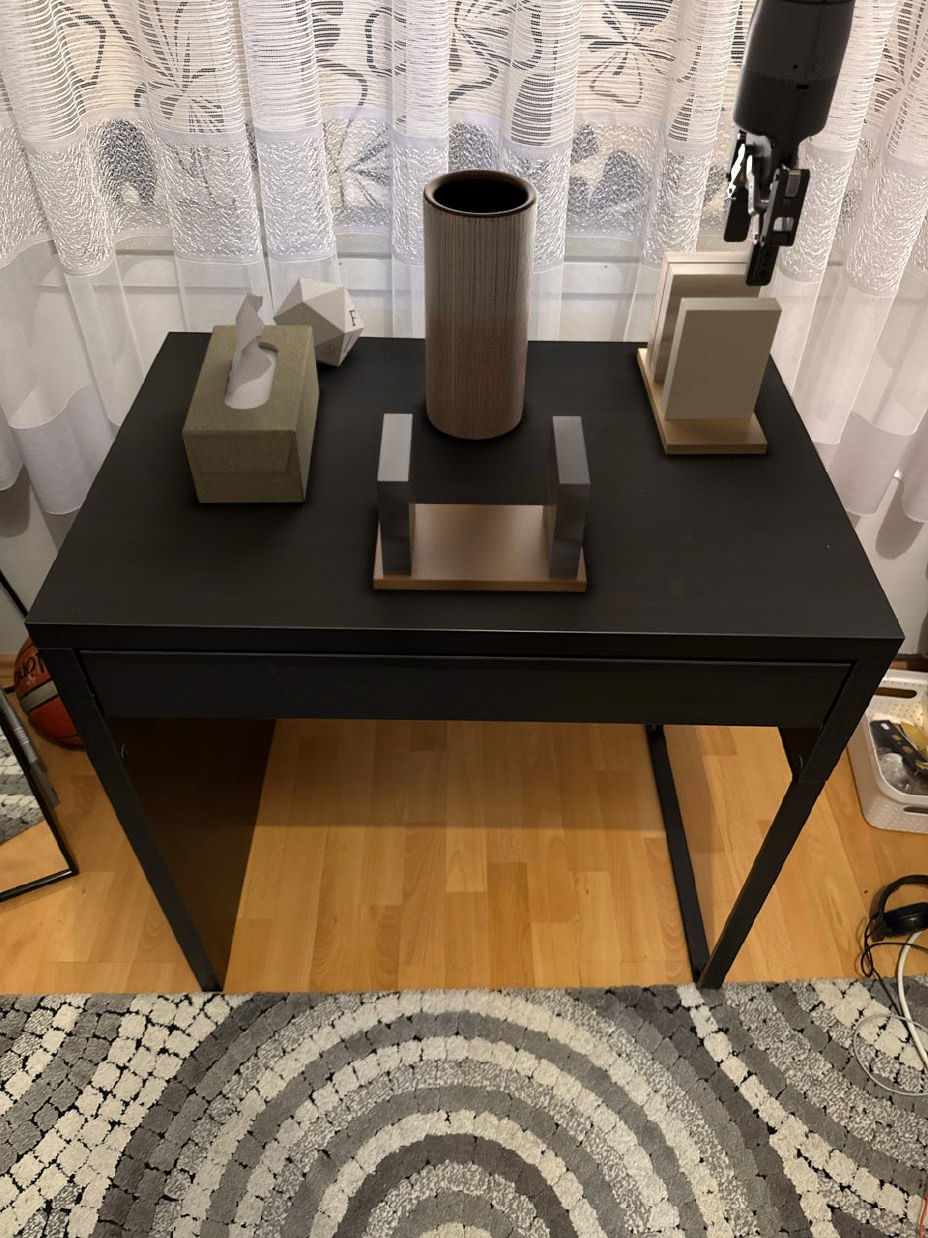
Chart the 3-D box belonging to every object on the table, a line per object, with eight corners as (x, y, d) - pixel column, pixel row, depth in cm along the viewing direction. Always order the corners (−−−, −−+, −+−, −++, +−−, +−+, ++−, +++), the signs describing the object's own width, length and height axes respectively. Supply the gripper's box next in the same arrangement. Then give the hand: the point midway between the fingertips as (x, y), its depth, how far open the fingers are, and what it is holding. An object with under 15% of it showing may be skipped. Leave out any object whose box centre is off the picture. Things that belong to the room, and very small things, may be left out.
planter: (537, 430, 95) (556, 206, 78) (444, 449, 93) (444, 221, 76) (501, 379, 101) (512, 162, 85) (414, 395, 99) (408, 175, 82)
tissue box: (304, 505, 86) (283, 353, 75) (198, 506, 86) (160, 353, 74) (319, 392, 99) (303, 247, 88) (227, 392, 99) (199, 246, 87)
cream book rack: (764, 453, 93) (802, 333, 83) (665, 454, 93) (691, 333, 83) (724, 357, 105) (752, 243, 96) (636, 357, 105) (656, 243, 95)
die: (307, 392, 100) (359, 319, 95) (246, 334, 100) (294, 258, 95) (341, 378, 108) (390, 311, 103) (284, 324, 107) (330, 254, 102)
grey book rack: (575, 515, 86) (589, 412, 78) (585, 592, 79) (601, 488, 71) (381, 513, 86) (374, 409, 78) (373, 589, 79) (365, 485, 71)
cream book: (751, 418, 95) (782, 309, 86) (664, 419, 95) (686, 309, 86) (745, 405, 97) (775, 297, 88) (659, 406, 96) (681, 297, 88)
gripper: (723, 33, 77) (687, 227, 89) (767, 90, 67) (720, 300, 79) (813, 33, 77) (765, 227, 89) (869, 90, 68) (807, 299, 79)
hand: (744, 261), depth 84 cm, fingers open, 8 cm apart
